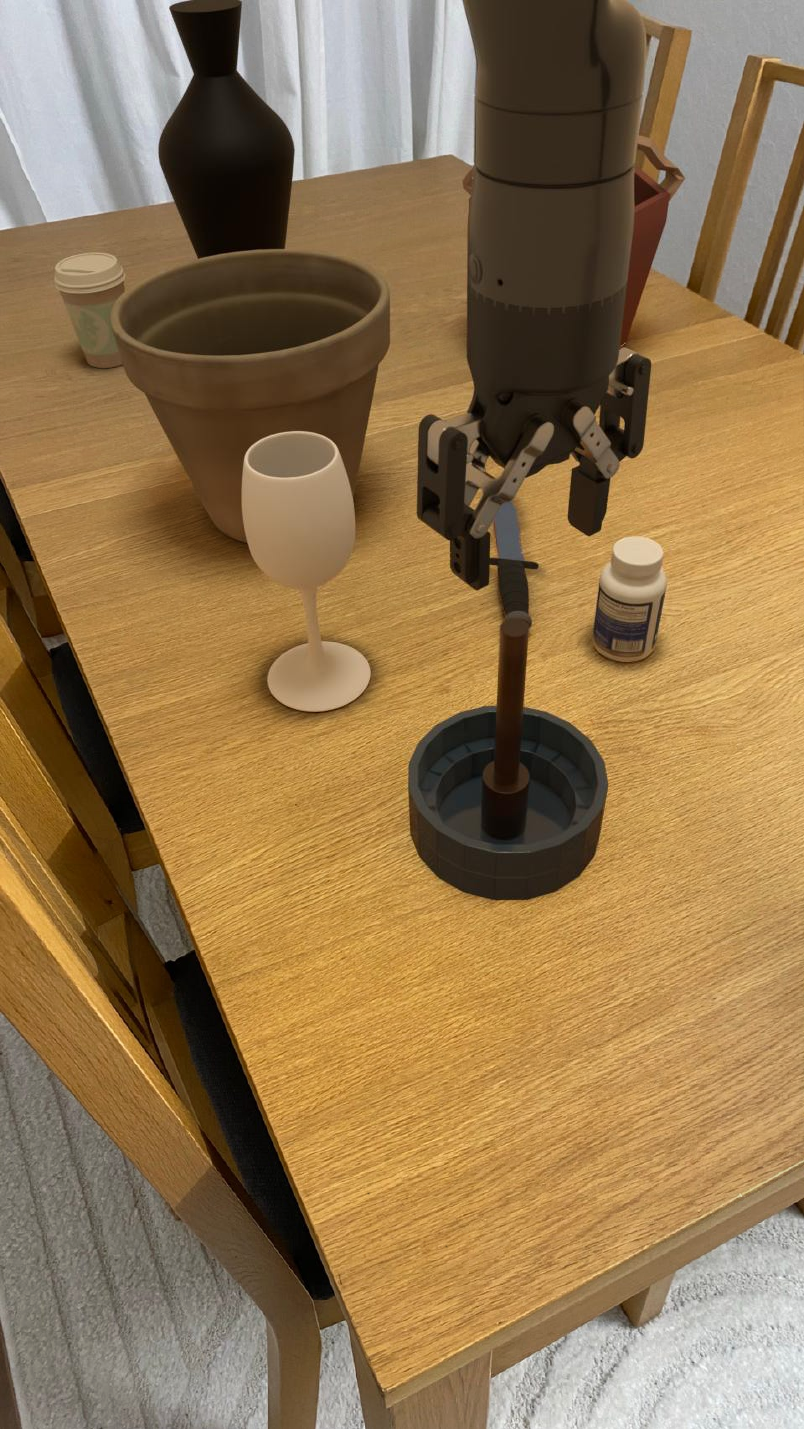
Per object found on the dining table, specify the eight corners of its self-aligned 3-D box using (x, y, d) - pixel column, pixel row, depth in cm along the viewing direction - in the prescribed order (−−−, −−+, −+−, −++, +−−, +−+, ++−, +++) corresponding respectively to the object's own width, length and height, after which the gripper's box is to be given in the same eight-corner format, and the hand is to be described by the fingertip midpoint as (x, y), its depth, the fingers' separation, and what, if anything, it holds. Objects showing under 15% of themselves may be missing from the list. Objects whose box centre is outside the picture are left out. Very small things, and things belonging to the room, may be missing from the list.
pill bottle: (619, 615, 88) (634, 522, 81) (668, 644, 85) (686, 550, 78) (578, 642, 86) (589, 549, 79) (626, 673, 83) (642, 578, 76)
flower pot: (139, 474, 108) (88, 270, 93) (352, 427, 114) (337, 228, 99) (188, 604, 92) (135, 381, 76) (435, 541, 97) (432, 322, 82)
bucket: (675, 329, 130) (709, 111, 112) (619, 403, 116) (648, 168, 98) (502, 300, 138) (509, 94, 121) (431, 366, 125) (427, 143, 107)
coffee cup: (64, 358, 130) (37, 264, 121) (122, 338, 134) (99, 245, 125) (97, 379, 125) (71, 283, 117) (155, 358, 129) (134, 262, 121)
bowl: (638, 844, 70) (649, 788, 66) (489, 942, 65) (492, 887, 61) (515, 736, 78) (519, 679, 74) (374, 815, 73) (369, 759, 69)
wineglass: (390, 666, 84) (378, 443, 70) (329, 727, 79) (301, 501, 65) (310, 631, 88) (282, 412, 73) (246, 687, 83) (202, 465, 68)
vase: (200, 284, 146) (149, -6, 122) (315, 281, 145) (288, -11, 121) (176, 334, 134) (114, 23, 110) (302, 331, 133) (268, 17, 109)
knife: (551, 616, 85) (494, 611, 84) (546, 638, 86) (489, 633, 86) (527, 482, 103) (480, 477, 103) (523, 502, 105) (476, 497, 104)
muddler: (535, 825, 71) (553, 630, 58) (500, 847, 69) (510, 652, 57) (506, 798, 72) (517, 603, 60) (471, 818, 71) (476, 623, 59)
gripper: (478, 337, 42) (474, 635, 53) (713, 253, 47) (663, 539, 59) (377, 285, 46) (393, 570, 57) (602, 214, 52) (576, 486, 63)
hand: (529, 554), depth 58 cm, fingers open, 8 cm apart
